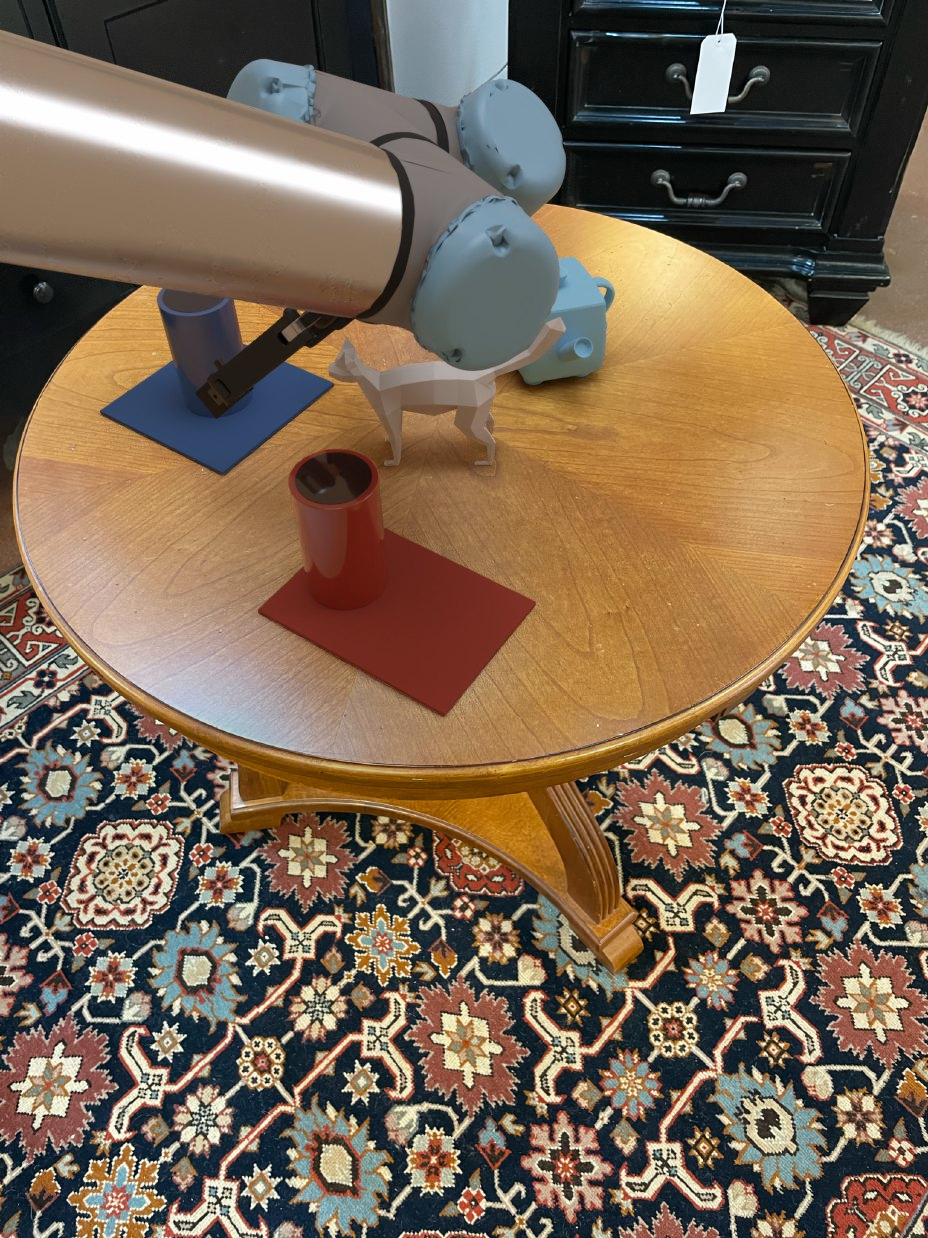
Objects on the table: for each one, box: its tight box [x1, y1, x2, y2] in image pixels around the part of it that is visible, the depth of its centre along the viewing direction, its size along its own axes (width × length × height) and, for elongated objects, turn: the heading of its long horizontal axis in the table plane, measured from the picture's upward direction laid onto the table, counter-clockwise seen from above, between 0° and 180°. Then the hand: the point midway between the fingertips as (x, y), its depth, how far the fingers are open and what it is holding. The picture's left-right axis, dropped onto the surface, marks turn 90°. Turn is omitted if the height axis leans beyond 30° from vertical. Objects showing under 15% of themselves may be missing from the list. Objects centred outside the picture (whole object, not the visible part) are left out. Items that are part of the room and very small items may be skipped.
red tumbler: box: [287, 448, 388, 610], centre depth 74 cm, size 7×7×11 cm
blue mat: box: [99, 343, 335, 476], centre depth 93 cm, size 16×16×1 cm
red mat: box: [257, 527, 537, 718], centre depth 76 cm, size 18×13×1 cm
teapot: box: [517, 256, 616, 386], centre depth 94 cm, size 18×14×10 cm
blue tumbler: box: [156, 288, 253, 417], centre depth 89 cm, size 7×7×11 cm
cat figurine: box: [327, 317, 566, 467], centre depth 83 cm, size 4×20×14 cm, turn 91°
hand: (261, 363), depth 84 cm, fingers open, 13 cm apart
